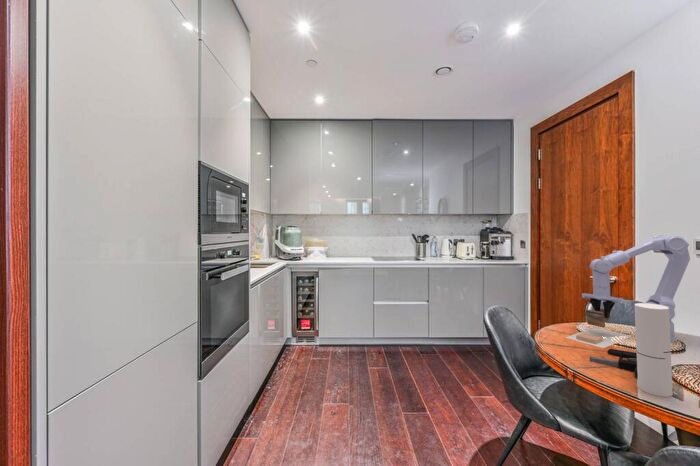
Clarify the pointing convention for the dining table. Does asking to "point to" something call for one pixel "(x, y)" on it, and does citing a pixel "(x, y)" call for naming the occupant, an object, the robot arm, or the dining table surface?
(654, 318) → the cylindrical container
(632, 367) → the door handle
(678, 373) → the dining table surface
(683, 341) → the dining table surface
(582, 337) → the tile
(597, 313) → the pusher
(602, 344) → the mat
